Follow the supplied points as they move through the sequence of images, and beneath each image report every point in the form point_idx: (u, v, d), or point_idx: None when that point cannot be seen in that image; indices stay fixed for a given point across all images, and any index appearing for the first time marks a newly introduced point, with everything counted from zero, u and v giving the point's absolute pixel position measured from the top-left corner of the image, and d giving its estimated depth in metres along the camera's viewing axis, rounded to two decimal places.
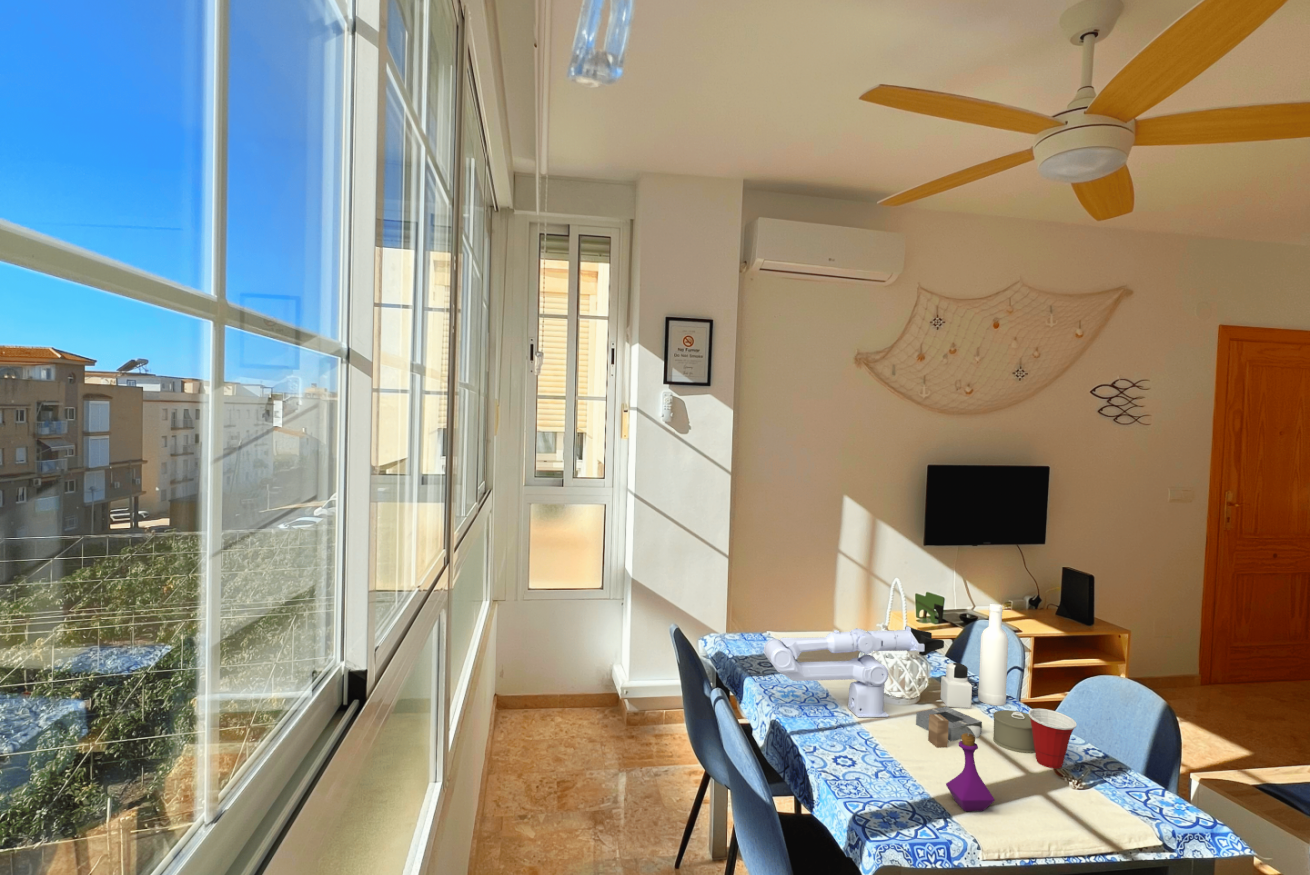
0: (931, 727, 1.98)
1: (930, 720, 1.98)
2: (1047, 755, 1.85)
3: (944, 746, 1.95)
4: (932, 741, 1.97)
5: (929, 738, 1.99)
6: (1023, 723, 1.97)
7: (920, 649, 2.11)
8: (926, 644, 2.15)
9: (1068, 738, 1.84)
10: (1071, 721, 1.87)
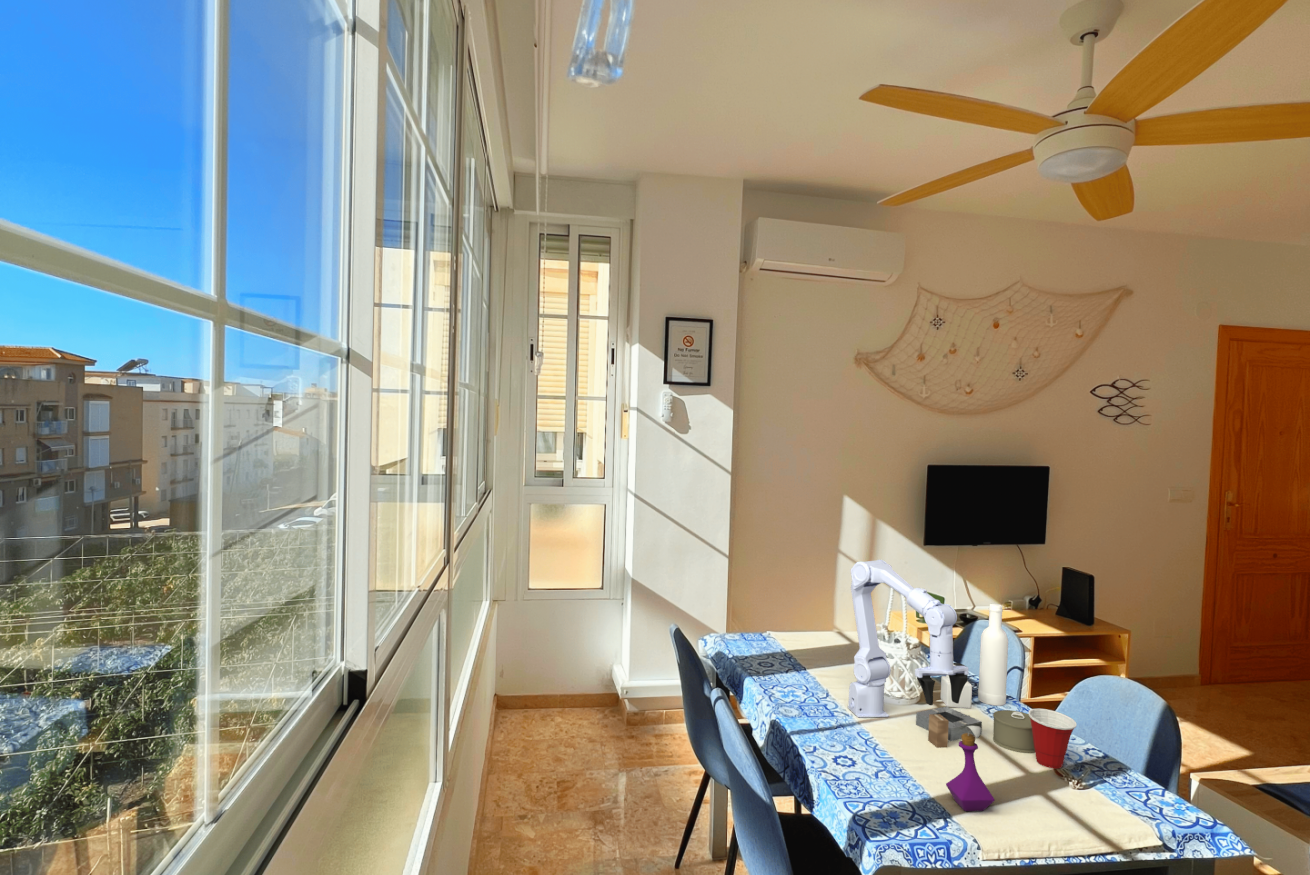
0: (931, 727, 1.98)
1: (930, 720, 1.98)
2: (1047, 755, 1.85)
3: (944, 746, 1.95)
4: (932, 741, 1.97)
5: (929, 738, 1.99)
6: (1023, 723, 1.97)
7: (916, 671, 1.97)
8: None
9: (1068, 738, 1.84)
10: (1071, 721, 1.87)
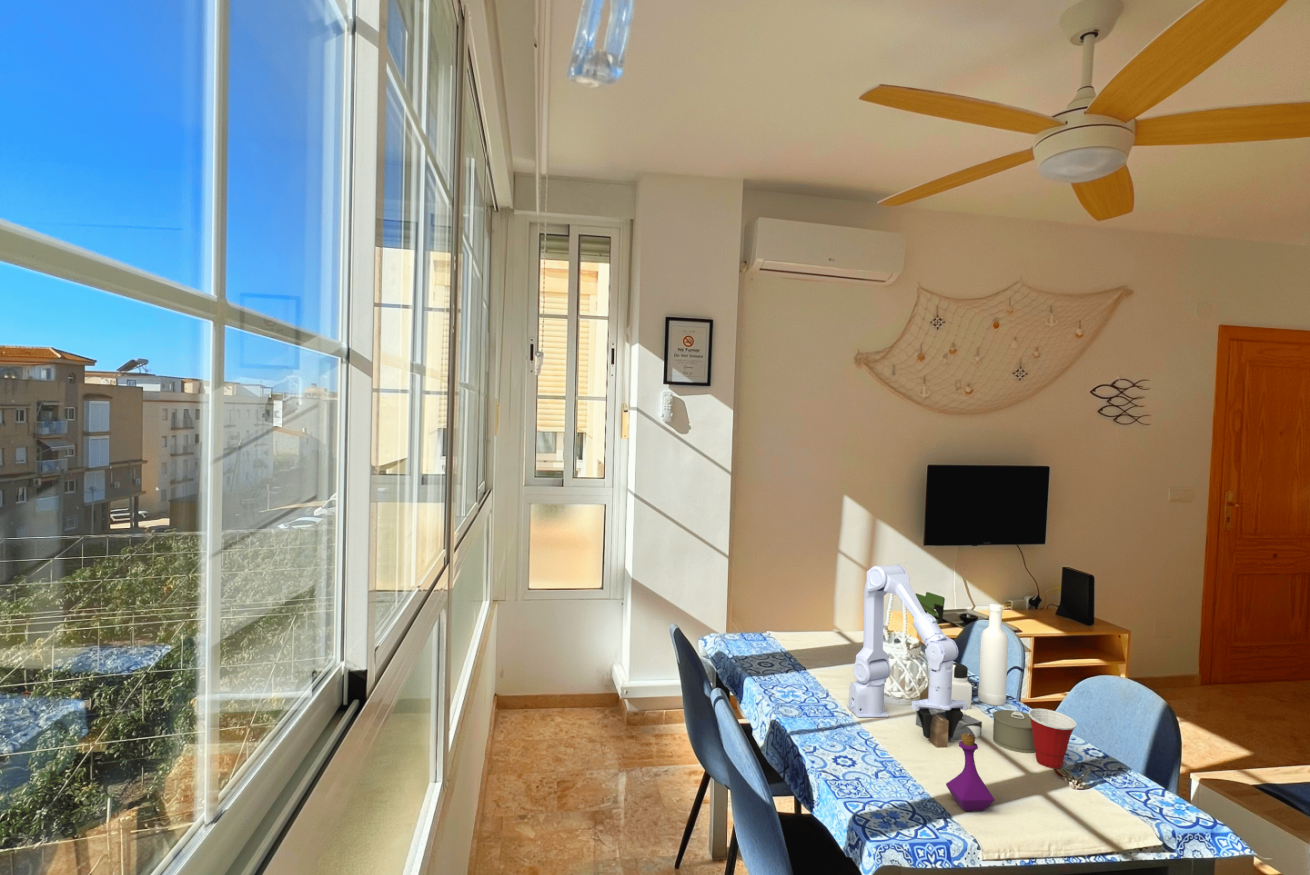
0: (931, 727, 1.98)
1: None
2: (1047, 755, 1.85)
3: (944, 746, 1.95)
4: (932, 741, 1.97)
5: (929, 738, 1.99)
6: (1023, 723, 1.97)
7: (912, 704, 1.96)
8: None
9: (1068, 738, 1.84)
10: (1071, 721, 1.87)
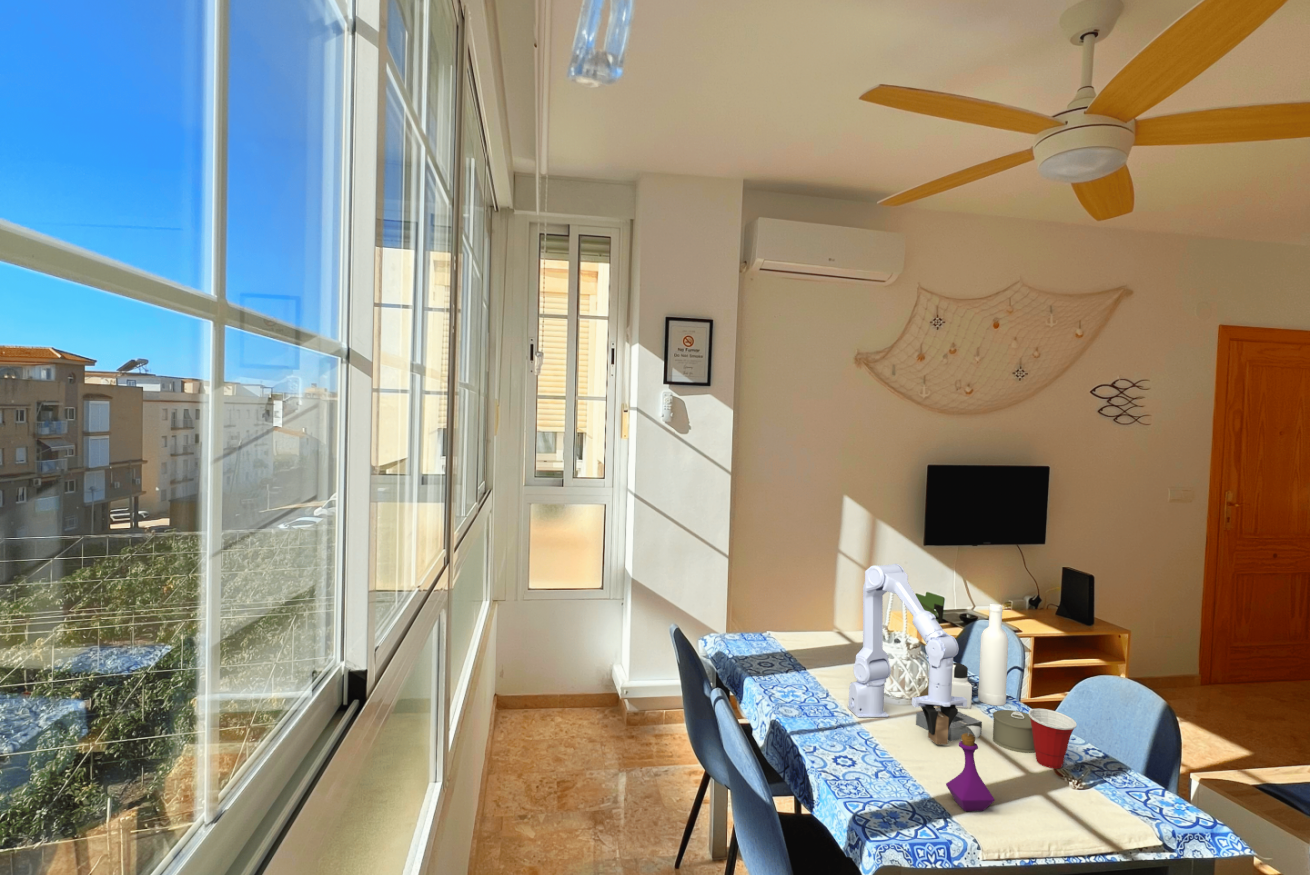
0: None
1: None
2: (1047, 755, 1.85)
3: (944, 743, 1.95)
4: (932, 738, 1.97)
5: (929, 735, 1.99)
6: (1023, 723, 1.97)
7: (912, 700, 1.96)
8: None
9: (1068, 738, 1.84)
10: (1071, 721, 1.87)
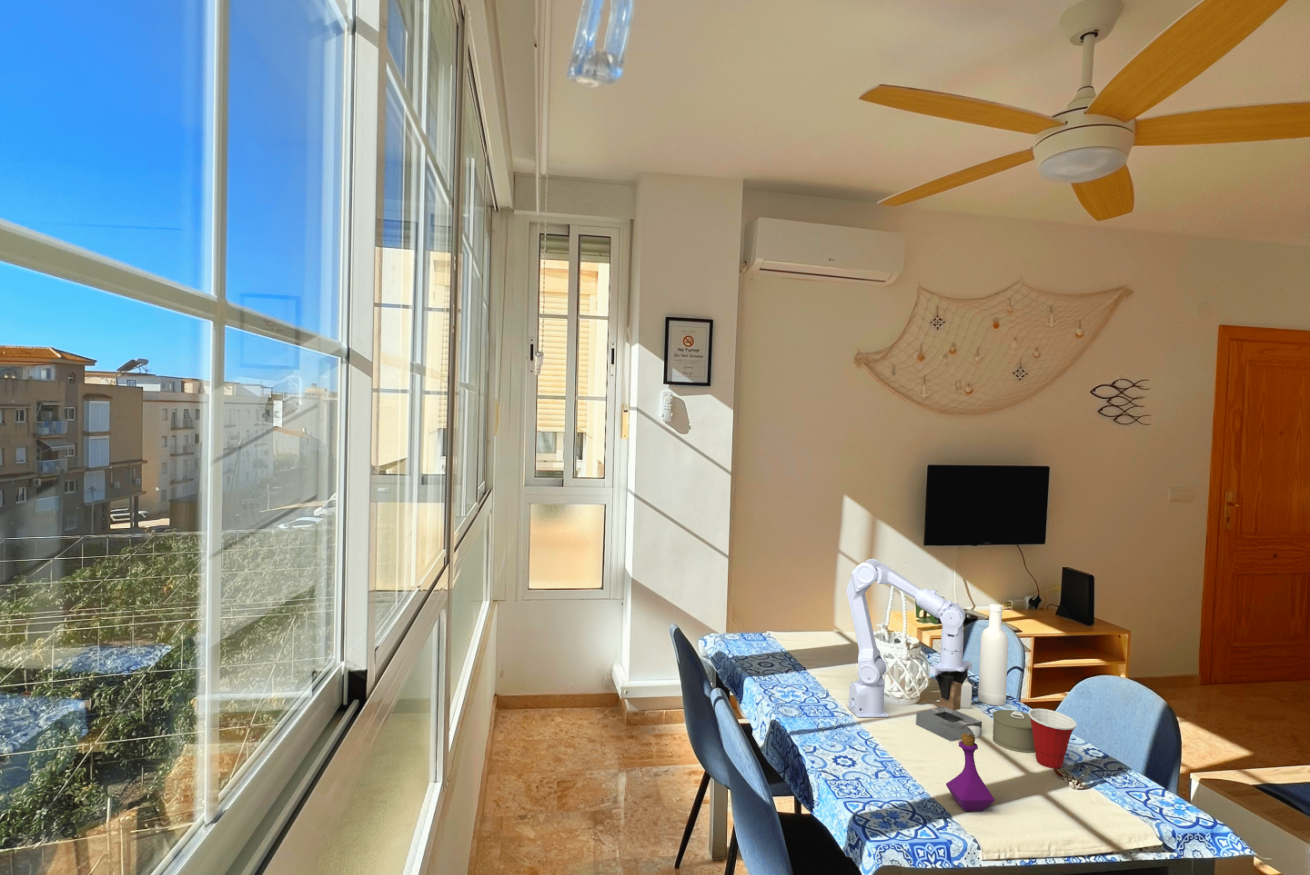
0: None
1: None
2: (1047, 755, 1.85)
3: (958, 708, 2.05)
4: (946, 705, 2.06)
5: (941, 702, 2.08)
6: (1022, 723, 1.97)
7: (931, 669, 2.04)
8: (944, 679, 2.06)
9: (1068, 738, 1.84)
10: (1071, 721, 1.87)
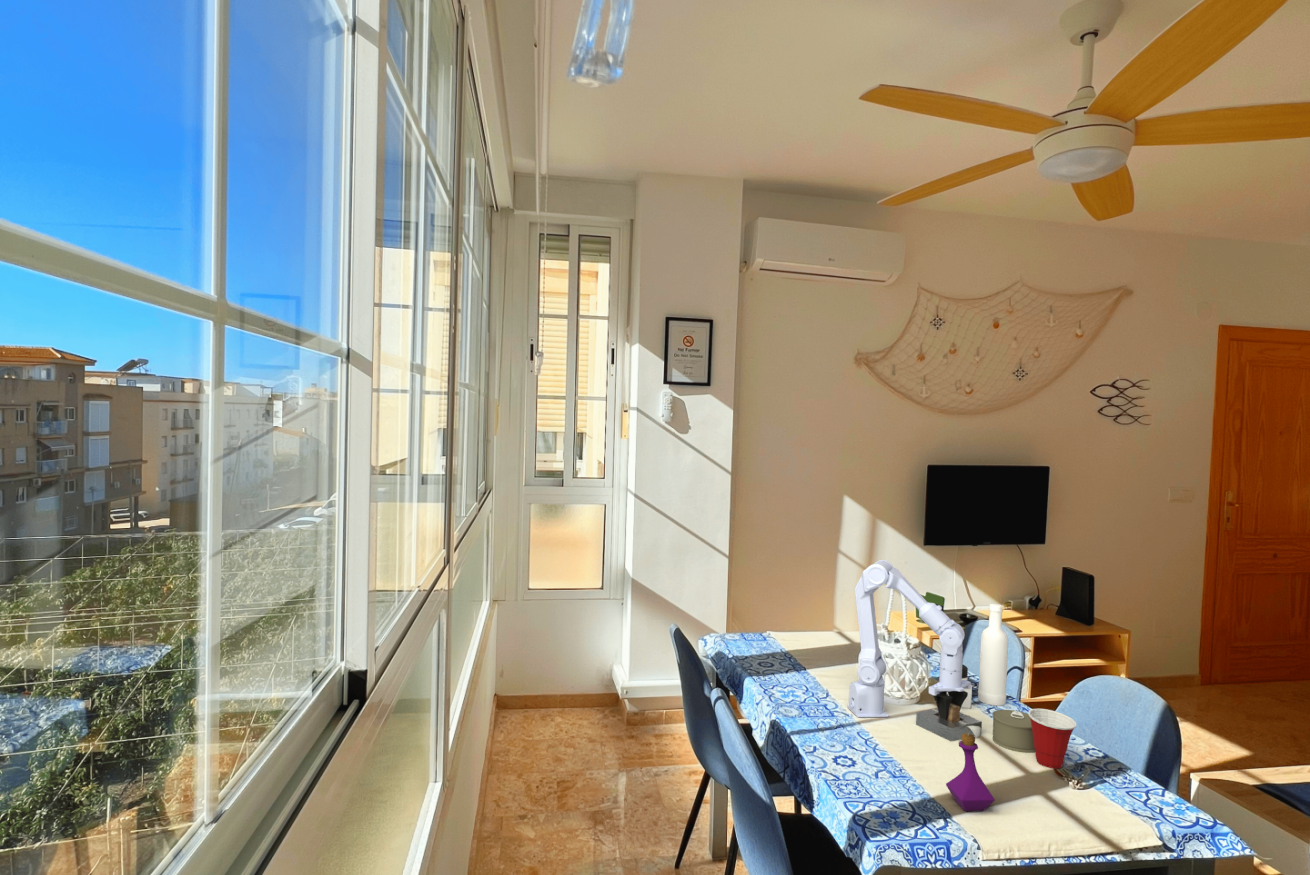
0: None
1: None
2: (1047, 755, 1.85)
3: None
4: None
5: None
6: (1022, 722, 1.97)
7: (930, 689, 2.04)
8: (943, 699, 2.06)
9: (1068, 738, 1.84)
10: (1071, 721, 1.87)
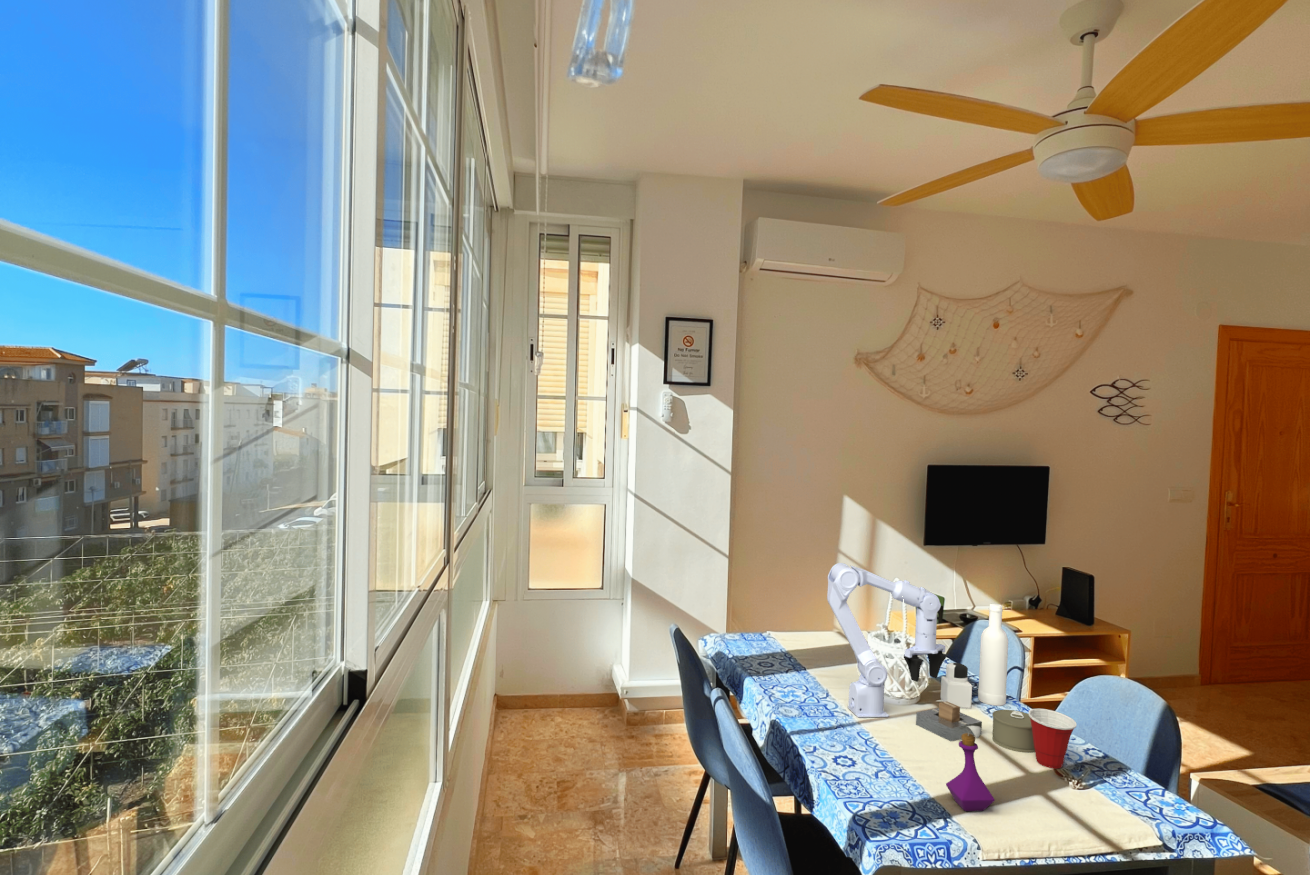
0: (942, 715, 2.07)
1: (941, 708, 2.08)
2: (1047, 755, 1.85)
3: None
4: None
5: None
6: (1022, 722, 1.97)
7: (906, 652, 2.15)
8: (914, 662, 2.16)
9: (1068, 738, 1.84)
10: (1071, 721, 1.87)
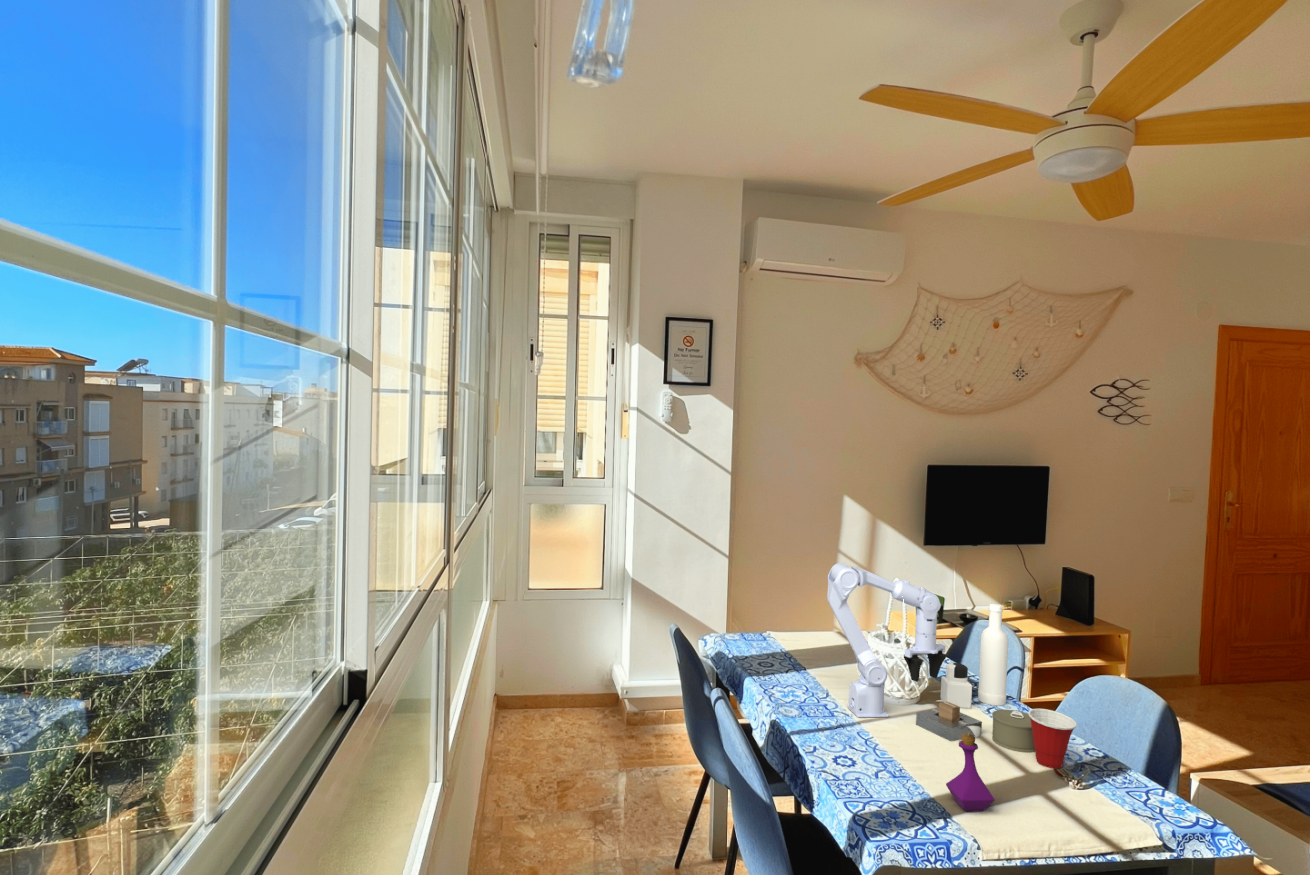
0: (942, 715, 2.07)
1: (941, 708, 2.08)
2: (1047, 755, 1.85)
3: None
4: None
5: None
6: (1022, 722, 1.98)
7: (906, 652, 2.15)
8: (914, 662, 2.16)
9: (1068, 738, 1.84)
10: (1071, 721, 1.87)
